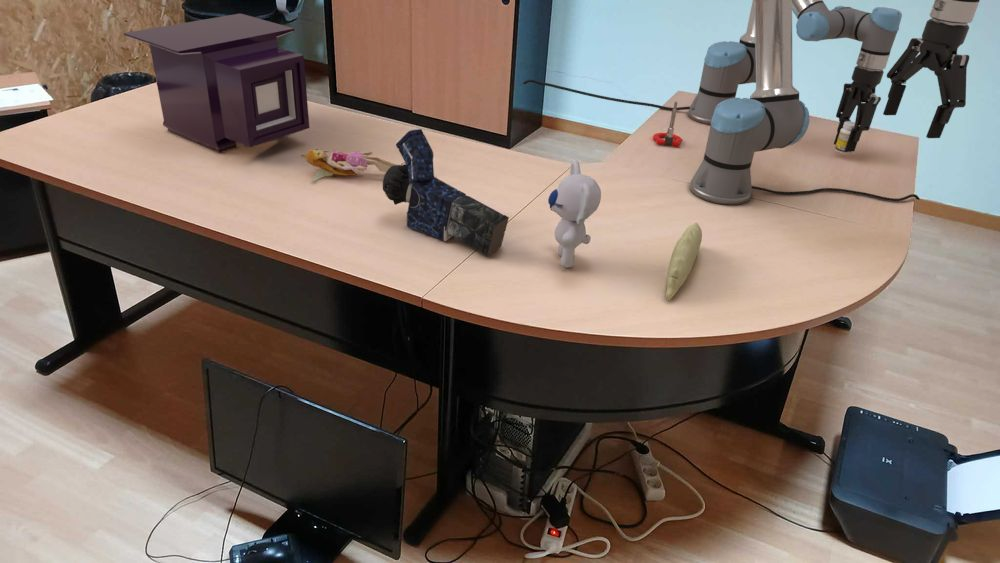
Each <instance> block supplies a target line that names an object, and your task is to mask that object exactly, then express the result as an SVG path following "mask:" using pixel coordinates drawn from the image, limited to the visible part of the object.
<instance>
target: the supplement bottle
mask: <svg viewBox="0 0 1000 563" xmlns="http://www.w3.org/2000/svg"><path fill="white" fill-rule="evenodd" d="M854 127H855V121H852V120H850V121H846V122H844V125H843V128H842V129H841V130H840V133H839V136H838V140H837V143H836V145H835V146H834V151H836V152H838V153H840V154H844V155H845V154H846V155H847V154H851V153H852V152H846V151H845V148H846V145H847V142H848V139H849V136H850V133H851V130H852V128H854Z"/></svg>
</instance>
